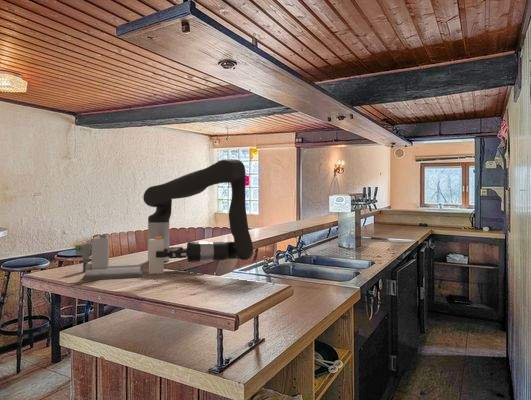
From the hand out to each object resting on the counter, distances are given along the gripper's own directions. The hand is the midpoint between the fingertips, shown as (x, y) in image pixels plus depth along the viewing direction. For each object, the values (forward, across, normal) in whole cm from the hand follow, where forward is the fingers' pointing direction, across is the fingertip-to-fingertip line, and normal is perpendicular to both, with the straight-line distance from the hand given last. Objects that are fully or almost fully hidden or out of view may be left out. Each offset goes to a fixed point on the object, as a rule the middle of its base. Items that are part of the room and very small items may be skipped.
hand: (155, 253), depth 139 cm
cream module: (0, 0, +7) cm, 7 cm away
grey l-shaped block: (+14, +3, +7) cm, 16 cm away
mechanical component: (+25, -11, +7) cm, 28 cm away
